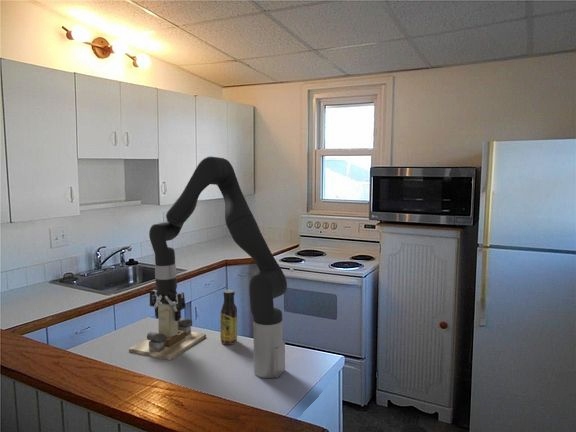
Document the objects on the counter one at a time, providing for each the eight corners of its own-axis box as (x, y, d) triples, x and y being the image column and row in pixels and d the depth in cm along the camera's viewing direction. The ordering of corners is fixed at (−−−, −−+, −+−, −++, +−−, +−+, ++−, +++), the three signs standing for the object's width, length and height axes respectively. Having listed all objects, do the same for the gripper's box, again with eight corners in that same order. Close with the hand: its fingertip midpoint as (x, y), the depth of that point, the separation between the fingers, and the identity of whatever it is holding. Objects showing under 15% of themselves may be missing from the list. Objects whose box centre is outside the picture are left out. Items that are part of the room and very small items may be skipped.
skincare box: (158, 334, 167) (156, 302, 166) (167, 330, 171) (166, 299, 169) (169, 338, 164) (168, 305, 162) (179, 334, 167) (177, 302, 166)
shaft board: (205, 336, 174) (205, 319, 173) (170, 359, 154) (169, 339, 153) (168, 330, 181) (167, 313, 180) (128, 351, 161) (127, 332, 160)
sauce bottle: (217, 342, 169) (215, 290, 167) (230, 337, 174) (229, 287, 171) (227, 347, 165) (226, 294, 162) (241, 342, 169) (240, 290, 167)
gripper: (188, 275, 165) (190, 318, 167) (156, 272, 171) (159, 313, 173) (175, 280, 158) (177, 324, 160) (143, 277, 164) (145, 320, 166)
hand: (168, 319), depth 166 cm, fingers open, 8 cm apart
